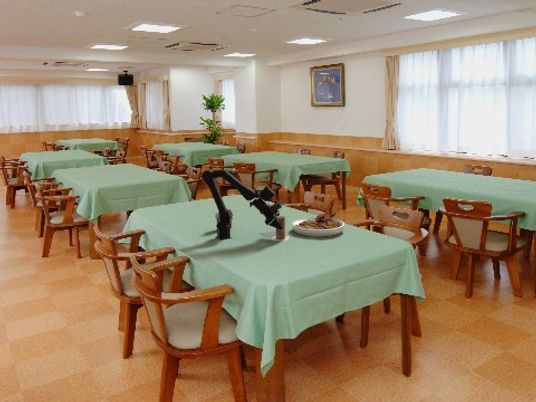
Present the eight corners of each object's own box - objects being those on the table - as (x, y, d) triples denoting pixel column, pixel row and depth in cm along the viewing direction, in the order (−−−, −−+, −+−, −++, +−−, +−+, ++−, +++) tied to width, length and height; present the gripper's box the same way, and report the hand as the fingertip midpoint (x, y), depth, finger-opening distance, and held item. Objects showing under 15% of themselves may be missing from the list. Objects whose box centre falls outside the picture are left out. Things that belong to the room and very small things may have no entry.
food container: (225, 226, 299) (225, 210, 297) (233, 228, 295) (232, 211, 293) (211, 230, 290) (210, 214, 288) (218, 232, 286) (218, 215, 284)
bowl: (342, 239, 267) (343, 225, 266) (288, 237, 273) (288, 223, 271) (345, 226, 296) (345, 213, 294) (296, 224, 302) (296, 212, 300)
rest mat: (267, 237, 272) (267, 236, 272) (259, 234, 280) (259, 233, 280) (281, 235, 277) (281, 234, 277) (272, 231, 284) (272, 231, 284)
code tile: (271, 240, 265) (271, 240, 265) (273, 236, 274) (273, 236, 274) (288, 241, 264) (288, 240, 264) (289, 236, 273) (289, 236, 273)
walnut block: (276, 239, 267) (275, 217, 265) (277, 237, 272) (276, 216, 269) (284, 239, 266) (284, 218, 264) (285, 237, 271) (285, 216, 269)
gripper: (270, 200, 256) (291, 221, 257) (275, 193, 274) (294, 213, 275) (256, 214, 259) (277, 235, 259) (261, 207, 277) (281, 227, 277)
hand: (283, 227), depth 268 cm, fingers open, 9 cm apart
